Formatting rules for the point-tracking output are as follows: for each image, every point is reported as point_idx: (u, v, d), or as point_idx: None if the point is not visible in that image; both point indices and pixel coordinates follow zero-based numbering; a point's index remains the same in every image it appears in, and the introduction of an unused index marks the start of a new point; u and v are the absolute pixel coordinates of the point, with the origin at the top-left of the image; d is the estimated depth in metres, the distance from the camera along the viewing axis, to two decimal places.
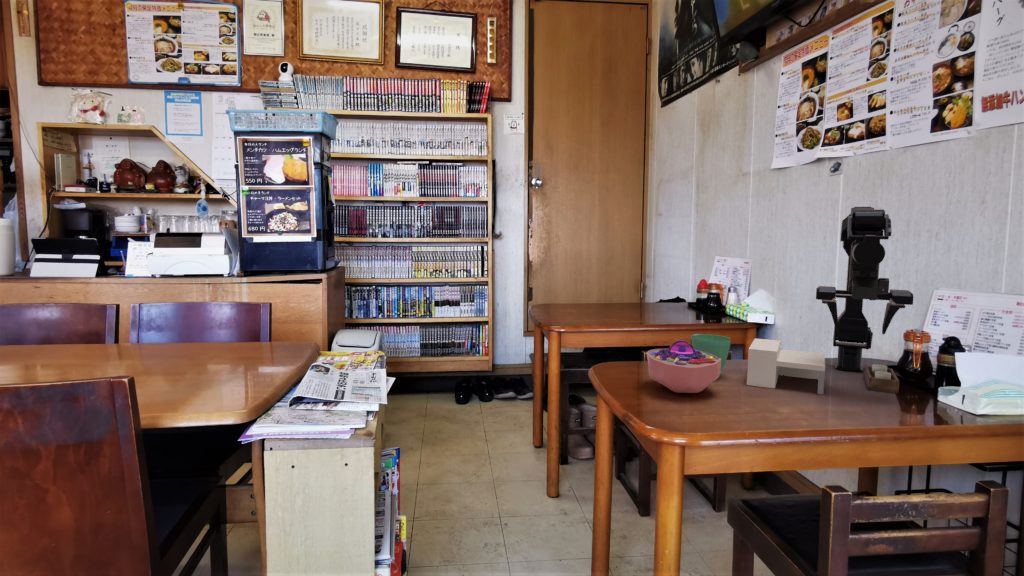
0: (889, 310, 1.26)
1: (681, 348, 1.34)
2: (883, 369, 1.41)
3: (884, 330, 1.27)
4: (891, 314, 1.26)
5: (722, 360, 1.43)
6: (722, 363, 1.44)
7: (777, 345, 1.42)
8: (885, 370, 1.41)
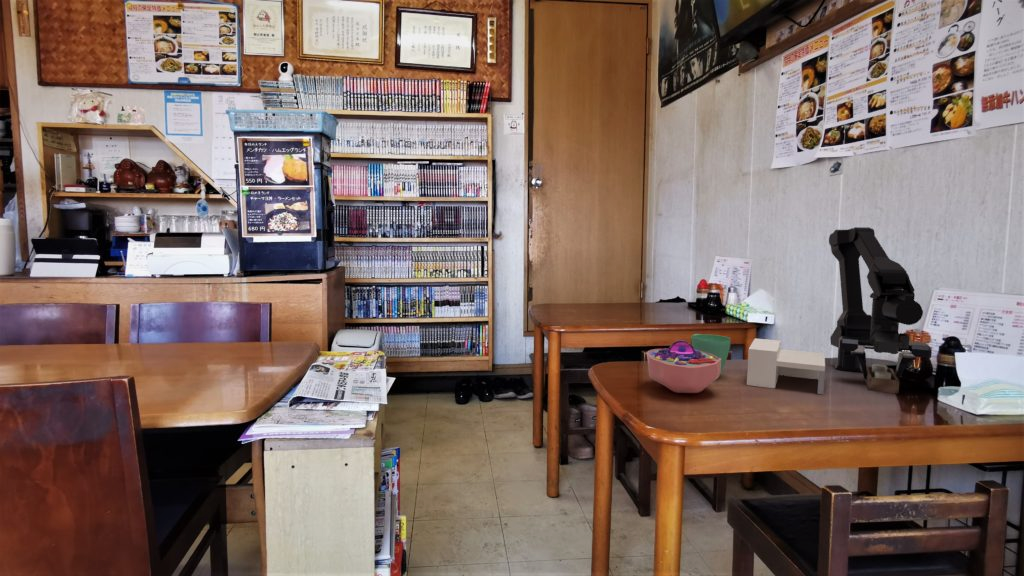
0: (901, 361, 1.35)
1: (681, 348, 1.34)
2: (883, 369, 1.41)
3: None
4: (903, 365, 1.36)
5: (722, 360, 1.43)
6: (722, 363, 1.44)
7: (777, 345, 1.42)
8: (885, 370, 1.41)
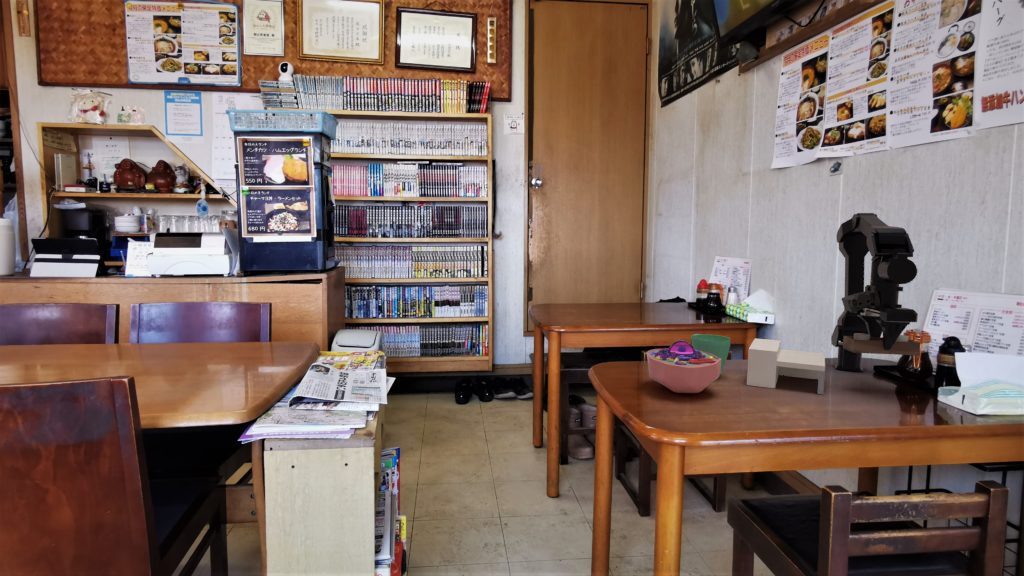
0: (880, 325, 1.29)
1: (681, 348, 1.34)
2: None
3: (884, 345, 1.30)
4: (884, 329, 1.29)
5: (722, 360, 1.43)
6: (722, 363, 1.44)
7: (777, 345, 1.42)
8: (898, 340, 1.31)
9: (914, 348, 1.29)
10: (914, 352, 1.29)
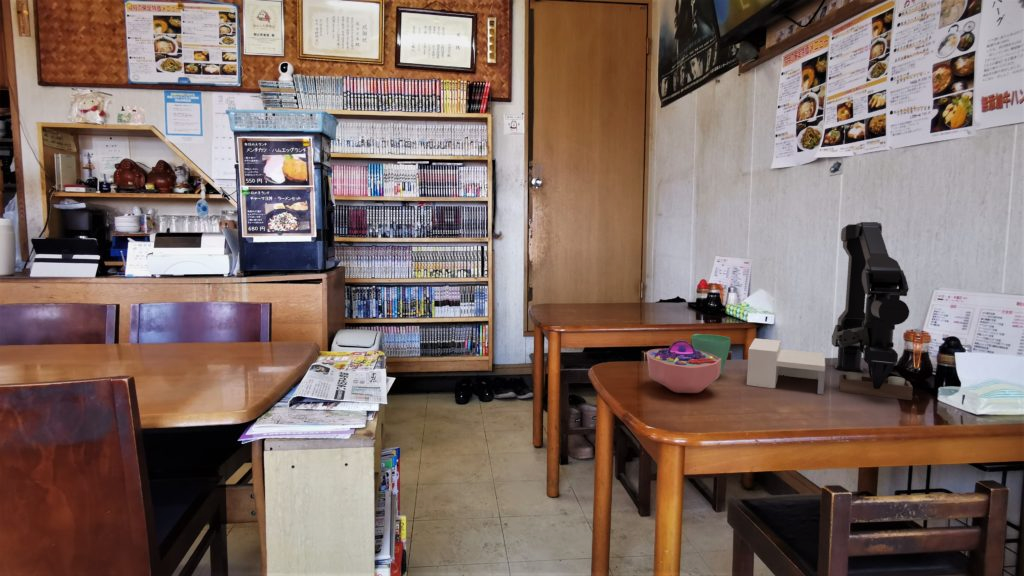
0: None
1: (681, 348, 1.34)
2: (889, 380, 1.30)
3: (873, 384, 1.29)
4: (871, 368, 1.28)
5: (722, 360, 1.43)
6: (722, 363, 1.44)
7: (777, 345, 1.42)
8: (891, 382, 1.30)
9: (906, 392, 1.27)
10: (906, 396, 1.27)
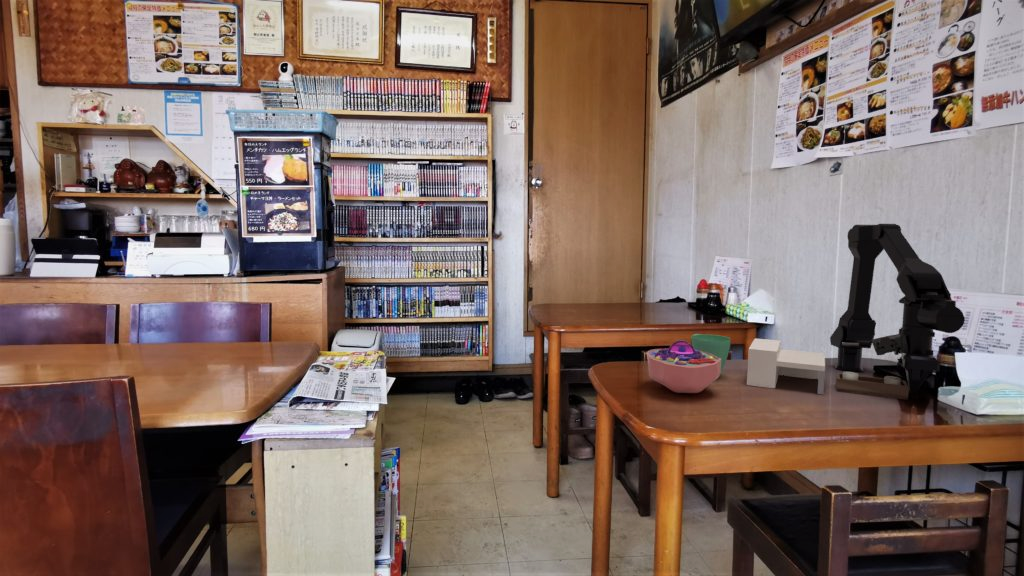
0: None
1: (681, 348, 1.34)
2: (885, 380, 1.31)
3: (909, 388, 1.29)
4: (907, 373, 1.28)
5: (722, 360, 1.43)
6: (722, 363, 1.44)
7: (777, 345, 1.42)
8: (887, 382, 1.30)
9: (902, 392, 1.27)
10: (902, 396, 1.27)
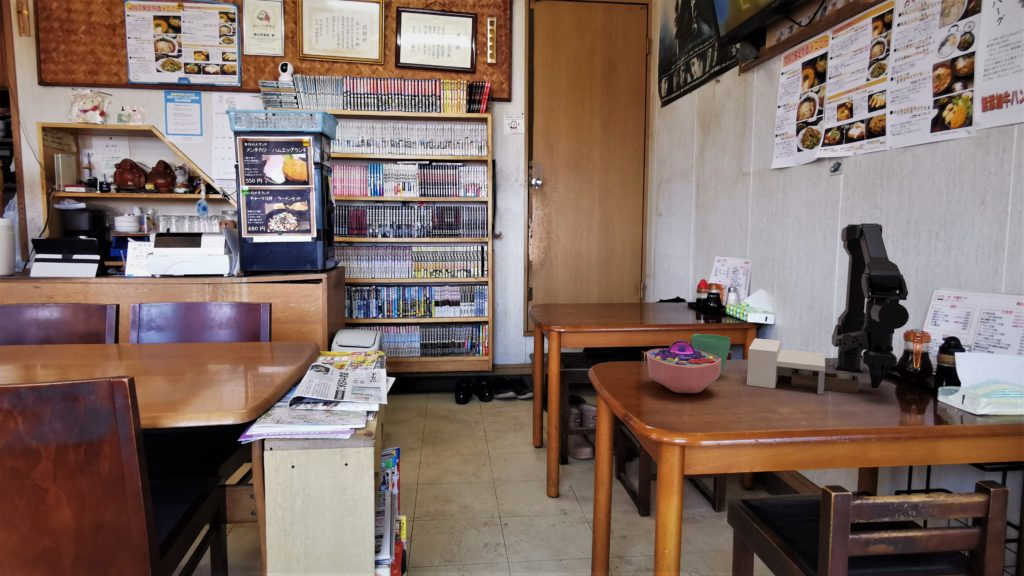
0: None
1: (681, 348, 1.34)
2: (837, 375, 1.35)
3: (871, 384, 1.32)
4: (869, 368, 1.31)
5: (722, 360, 1.43)
6: (722, 363, 1.44)
7: (777, 345, 1.42)
8: (839, 377, 1.34)
9: (852, 386, 1.32)
10: (853, 390, 1.32)
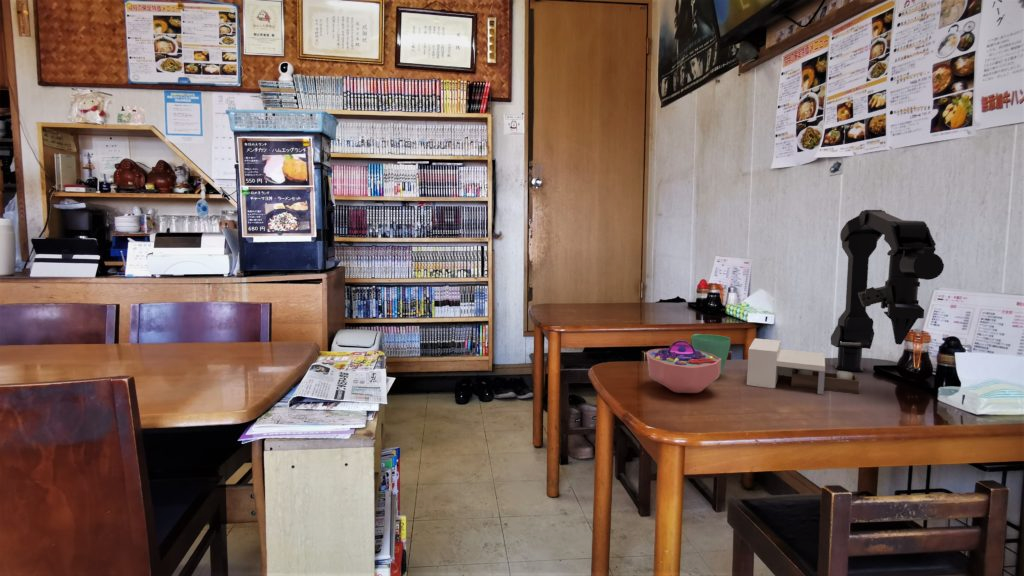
0: None
1: (681, 348, 1.34)
2: (837, 375, 1.35)
3: (895, 340, 1.29)
4: (893, 323, 1.29)
5: (722, 360, 1.43)
6: (722, 363, 1.44)
7: (777, 345, 1.42)
8: (839, 377, 1.34)
9: (852, 386, 1.32)
10: (853, 390, 1.32)
